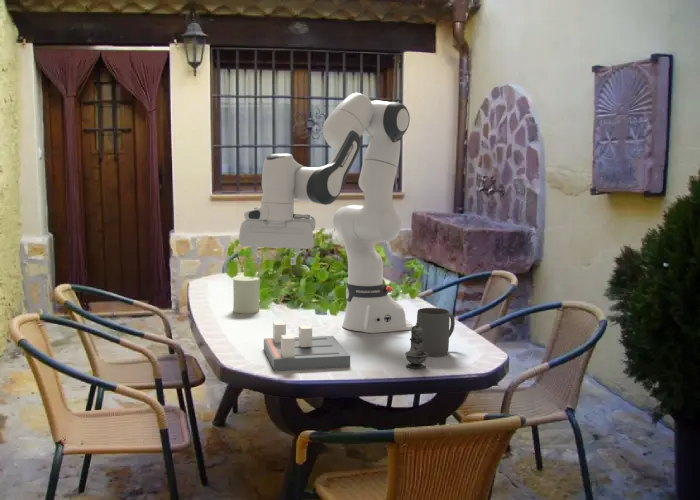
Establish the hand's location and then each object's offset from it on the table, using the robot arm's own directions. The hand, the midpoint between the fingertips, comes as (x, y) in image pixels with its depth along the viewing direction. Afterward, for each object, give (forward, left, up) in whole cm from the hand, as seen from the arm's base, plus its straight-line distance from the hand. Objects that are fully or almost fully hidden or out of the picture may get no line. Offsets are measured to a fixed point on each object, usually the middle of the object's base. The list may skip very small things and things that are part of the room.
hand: (275, 264), depth 205 cm
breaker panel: (-7, +5, -25) cm, 27 cm away
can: (+3, -59, -25) cm, 64 cm away
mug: (-45, +5, -25) cm, 52 cm away
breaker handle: (-7, +5, -22) cm, 23 cm away
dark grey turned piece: (-34, +19, -25) cm, 47 cm away
